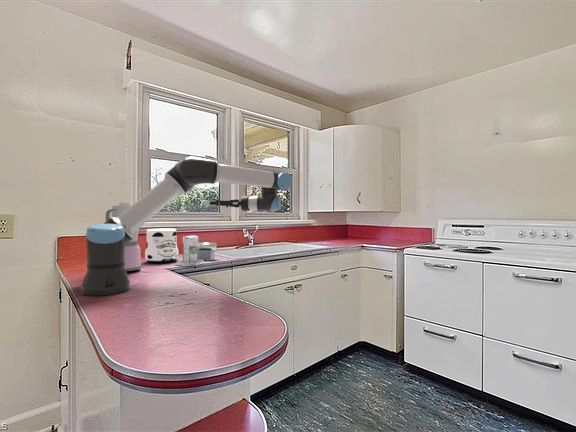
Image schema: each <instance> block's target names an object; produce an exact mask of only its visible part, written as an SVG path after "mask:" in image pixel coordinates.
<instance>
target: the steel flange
mask: <svg viewBox="0 0 576 432" xmlns="http://www.w3.org/2000/svg"><path fill="white" fill-rule="evenodd" d="M202 262H205V261H204V260H198V262H196V263H183V259H182V260H180V261H177V262H175V265H191V266H190V267H199V266H201V265H200V263H202Z"/></svg>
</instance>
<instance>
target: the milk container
mask: <svg viewBox="0 0 576 432" xmlns="http://www.w3.org/2000/svg"><path fill="white" fill-rule="evenodd" d="M177 233H178V232H177V229H176V228H148V229H146V233H145V234H146V247H145V250H144V256H145V257H144V258H145V260H146V261H147V262H148V263H154V264H155V263H157V264H158V263H159V264H160V263H161V264H162V263H169V262H174V261H176V260H178V259H179V258H178V257H179V247H178V243H177V239H178V238H177V237H178V236H177Z"/></svg>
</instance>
